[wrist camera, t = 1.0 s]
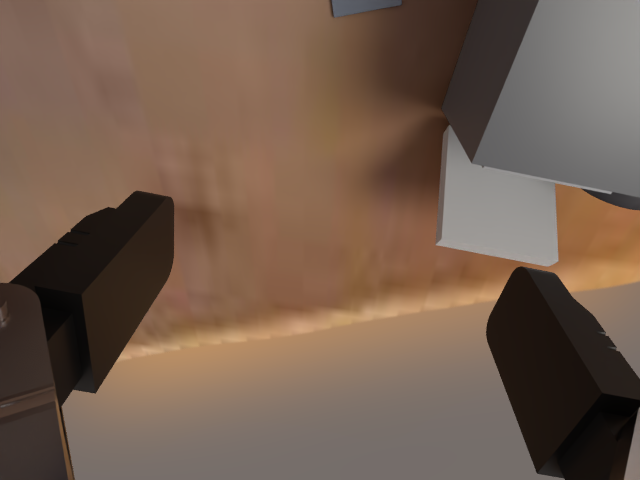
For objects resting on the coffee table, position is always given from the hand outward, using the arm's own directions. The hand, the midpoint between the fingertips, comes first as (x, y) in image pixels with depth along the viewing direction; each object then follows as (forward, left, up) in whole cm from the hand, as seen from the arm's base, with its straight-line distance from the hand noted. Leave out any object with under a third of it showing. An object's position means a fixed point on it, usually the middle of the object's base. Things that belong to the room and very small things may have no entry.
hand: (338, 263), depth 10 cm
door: (+2, +10, -20) cm, 22 cm away
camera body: (-4, +12, -21) cm, 24 cm away
